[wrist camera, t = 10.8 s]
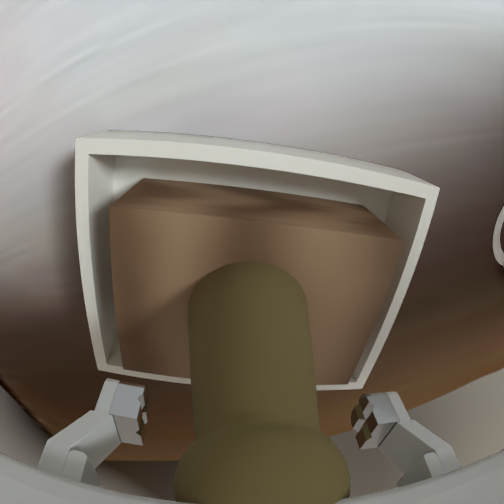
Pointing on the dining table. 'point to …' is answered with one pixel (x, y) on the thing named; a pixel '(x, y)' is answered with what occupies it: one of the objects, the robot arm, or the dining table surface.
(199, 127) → the dining table surface
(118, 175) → the tote
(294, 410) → the olive waisted cylinder
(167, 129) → the dining table surface
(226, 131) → the dining table surface
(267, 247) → the walnut block
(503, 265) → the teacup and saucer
